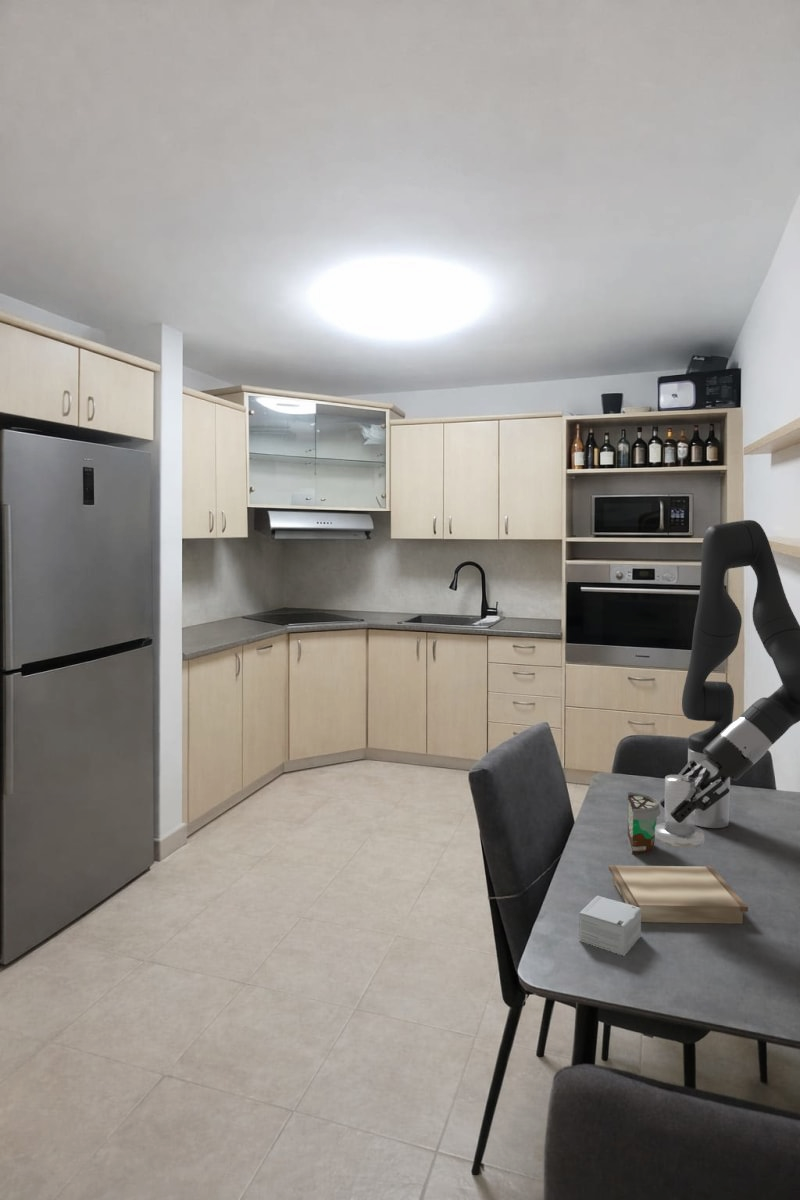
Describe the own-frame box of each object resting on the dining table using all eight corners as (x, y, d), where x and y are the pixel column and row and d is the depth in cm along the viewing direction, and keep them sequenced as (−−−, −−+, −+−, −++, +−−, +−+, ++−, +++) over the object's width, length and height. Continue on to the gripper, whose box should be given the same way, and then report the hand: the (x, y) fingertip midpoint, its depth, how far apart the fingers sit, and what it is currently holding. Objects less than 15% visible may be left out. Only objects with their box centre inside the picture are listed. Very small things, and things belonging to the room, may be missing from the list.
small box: (596, 923, 127) (597, 894, 127) (642, 937, 123) (642, 907, 122) (577, 942, 121) (578, 911, 121) (624, 958, 116) (625, 926, 116)
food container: (663, 859, 153) (664, 811, 152) (632, 856, 154) (633, 809, 154) (655, 836, 165) (656, 792, 164) (626, 834, 166) (627, 791, 166)
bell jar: (648, 829, 138) (649, 771, 138) (694, 829, 138) (695, 772, 138) (663, 847, 130) (664, 786, 129) (711, 847, 130) (713, 786, 129)
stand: (608, 880, 143) (608, 864, 143) (710, 881, 143) (711, 866, 142) (631, 922, 127) (632, 905, 127) (747, 924, 126) (748, 907, 126)
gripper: (707, 724, 140) (642, 786, 141) (740, 743, 126) (667, 812, 127) (735, 751, 140) (670, 813, 141) (771, 774, 126) (698, 843, 127)
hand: (669, 812), depth 134 cm, fingers closed on bell jar, 5 cm apart
